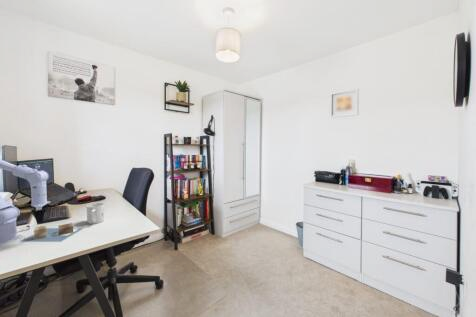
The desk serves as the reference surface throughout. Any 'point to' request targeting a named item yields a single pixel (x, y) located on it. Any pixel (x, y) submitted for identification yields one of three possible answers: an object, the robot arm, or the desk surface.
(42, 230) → the maple block
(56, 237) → the mat
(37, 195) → the robot arm
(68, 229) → the walnut base
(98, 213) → the mug
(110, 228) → the desk surface
